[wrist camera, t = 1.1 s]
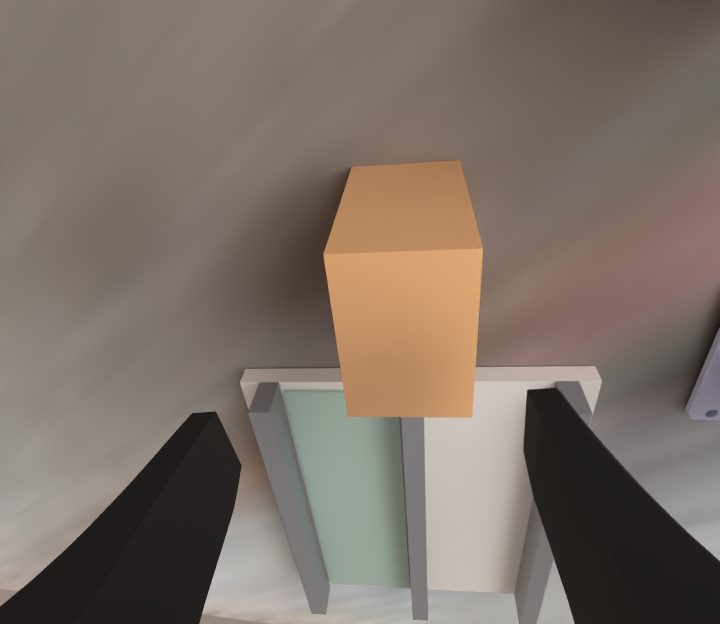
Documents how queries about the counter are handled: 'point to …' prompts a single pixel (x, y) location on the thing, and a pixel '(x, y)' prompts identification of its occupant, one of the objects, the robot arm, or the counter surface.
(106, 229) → the counter surface
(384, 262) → the orange block
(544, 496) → the robot arm
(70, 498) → the counter surface
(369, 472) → the slot rack
